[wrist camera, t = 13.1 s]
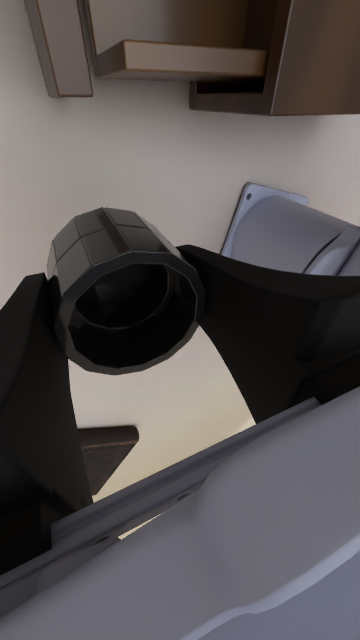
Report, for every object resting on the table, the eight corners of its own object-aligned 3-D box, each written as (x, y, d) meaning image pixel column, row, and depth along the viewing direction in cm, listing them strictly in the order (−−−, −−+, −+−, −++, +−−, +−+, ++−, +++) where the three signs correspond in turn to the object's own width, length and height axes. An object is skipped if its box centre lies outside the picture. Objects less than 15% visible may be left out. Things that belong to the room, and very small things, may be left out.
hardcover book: (94, 480, 44) (96, 494, 43) (-94, 518, 30) (-101, 542, 28) (136, 424, 38) (140, 438, 37) (-72, 437, 24) (-79, 461, 22)
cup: (152, 306, 14) (186, 363, 11) (49, 310, 12) (56, 385, 9) (173, 213, 11) (226, 256, 8) (41, 193, 9) (48, 244, 6)
